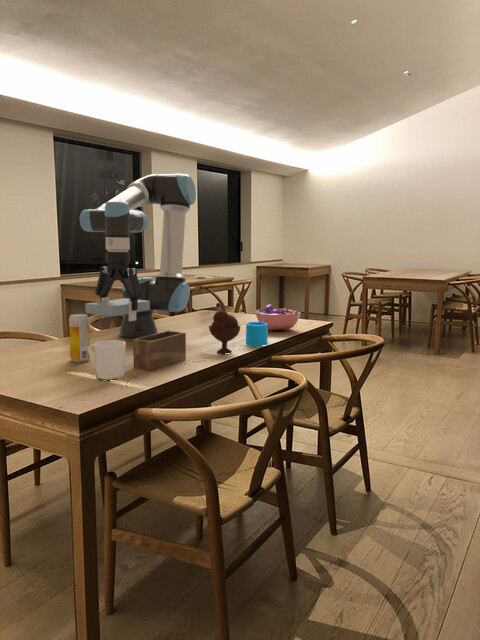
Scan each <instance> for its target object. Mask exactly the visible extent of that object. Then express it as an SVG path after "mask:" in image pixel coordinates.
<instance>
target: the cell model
mask: <svg viewBox="0 0 480 640" xmlns="http://www.w3.org/2000/svg"><path fill="white" fill-rule="evenodd" d="M254 312H255V316H256V319H257V322H264V323H267V324H268V331H288V330H291V329H292V328H293V327H294V326H295V325H296V324H297V323H298V321H299V319H300V316H301V313H302V312H301V311H298V310H297V311H296V310H294V309H289V308H273V307H272V304H270V303H269V304H266V305H265V307H264V308H261V309H256V310H255V311H254Z"/></svg>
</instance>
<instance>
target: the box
mask: <svg viewBox="0 0 480 640" xmlns="http://www.w3.org/2000/svg"><path fill="white" fill-rule="evenodd" d="M186 335H187V334H186V332H184V331H183V332H182V331H174V330H164V331H160V332H157V333H156V334H152V335H148V336H144V337H140V338H132V343H133V345H132V346H133V347H132V348H133V349H132V351H133V369H136V370H141V371H147V372H154V371H155V372H156V371H158V370H160V369H164V368H166V367H170V366H172V365H175V364H179V363H181V362H185V361H187V360H186V359H187V358H186V357H187V354H186V352H187V351H186V349H187V347H186V346H187V345H186V344H187V339H186Z"/></svg>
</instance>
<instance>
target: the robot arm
mask: <svg viewBox="0 0 480 640" xmlns="http://www.w3.org/2000/svg"><path fill="white" fill-rule="evenodd" d="M196 199H197V191H196V186H195V182H194V180H193V178H192V177H191V176H190V175H189V174H186V173H165V174H163V173H160V174H159V173H154V174H148V175H146V176H143V177H141V178H139V179H137V180H134V181H133V182H131V183H130V184H129V185H128V186H127V188H126V190H124V191H122V192H120V193H119V194H117V195H115V196H114V197H113V198H111V199H110V200H107V201H106V202H104V203H103V204H102V205H100V206H98V207H96V208H95V209H91V208H88V209H83V210H82V211H81V213H80V215H79V223H80V224H79V225H80V227H81V229H82V230H83V231H84V232H90V233H105V250H107V251H106V252H105V263H106V264H107V266H106V265H105V266H100V267H99V276H98V280H97V284H96V288H95V291H94V293H95V295H96V296H98V297H99V299H100V300H99V302H101V301H109V300H110V297H109V293H110V291H111V289H112V287H113V285H114V283H115V282H116V281H119V282H120V283H122V299H124V298H126V299H130V300H129V301H128V303H129V314H127V315H122V316H123V317H122V321H121V323H120V328H119V336H120V337H123V338H127V339H128V338H129V339H136V338H140V337H144V336H148V335H152V334H156V333H158V328H157V325H156V323H155V320H154V315H153V312H154V311H163V312H173V313H174V312H182V311H183V310H185V308H186V307H187V306H188V303H189V300H190V297H191V295H190V294H191V288H190V284H189V283H188V282H187V281H186V277H185V276H184V275H183V258H184V243H185V242H184V241H185V228H186V227H185V225H186V215H187V213H188V212H190V209H191V208H190V207H191V205H194V204H195V202H196ZM146 205H160V209H161V210H162V211H163V217H162V218H163V219H162V220H163V221H162V234H161V250H160V251H161V252H160V265H159V266H160V269H159V273H157V274H156V275H155V280H153V277H152V276H146V277H138V269H137V268H136V267H134V268H133V267H132V268H131V267H130V266H129V264H130V263H131V253H130V250H131V246H130V245H131V244H130V242H131V241H130V234H131V233H134V234H138V233H141V232H143V231H145V230H146V228H147V227H148V223H149V220H148V216H147V215H146V214H145V213H144V212H143V211H140V210H139V209H137V208H138V207H139V208H142V207H144V206H146ZM138 300H146V301H150V310H146V311H140V312H137V313H136V310H137V309H138V303H137V301H138ZM101 318H103V319H104V318H106V317H102V316H101Z"/></svg>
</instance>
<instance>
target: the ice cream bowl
mask: <svg viewBox="0 0 480 640" xmlns="http://www.w3.org/2000/svg"><path fill="white" fill-rule="evenodd" d="M212 319H213V322H212V323H211V325H208V329H209V333H210V335H212V337H214V339H216V340H217V341H219V342H220V343H221V348H220V349H218V350H217V351H216V354H218V353H221V354H220V355H225V353H231V352H232V350H231V349H229V348H228V342H230V341H232V340H234V339H235V338H236V337H237V336H238V335H239V334H240V331H241V326H240V325H239V322H238V319H237V318H236V317H235V316H234V315H232V314H229V313H228V312H227V311H225V310H218V311H216V312H215V313H214V315H213V318H212ZM232 353H233V352H232ZM232 353H231V354H232Z"/></svg>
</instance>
